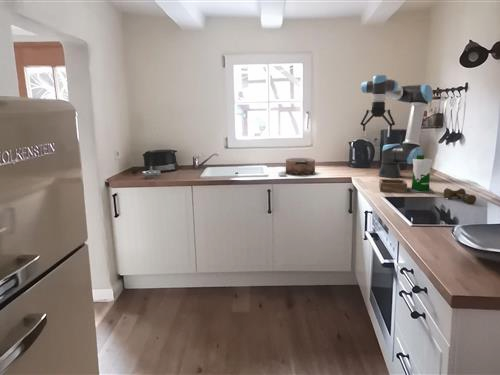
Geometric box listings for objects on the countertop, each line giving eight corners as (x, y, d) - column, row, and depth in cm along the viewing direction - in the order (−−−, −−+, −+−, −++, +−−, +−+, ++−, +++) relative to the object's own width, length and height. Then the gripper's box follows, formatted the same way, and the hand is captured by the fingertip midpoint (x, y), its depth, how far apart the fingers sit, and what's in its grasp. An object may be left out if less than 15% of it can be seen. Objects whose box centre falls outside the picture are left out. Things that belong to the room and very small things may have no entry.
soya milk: (421, 187, 231) (423, 154, 228) (432, 190, 223) (435, 156, 219) (408, 188, 229) (411, 155, 225) (419, 191, 220) (422, 157, 217)
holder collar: (379, 186, 239) (379, 178, 238) (403, 187, 235) (404, 179, 234) (380, 191, 225) (380, 183, 224) (406, 192, 221) (407, 184, 220)
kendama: (462, 205, 192) (438, 196, 211) (480, 205, 193) (454, 196, 212) (464, 194, 191) (439, 185, 210) (482, 194, 192) (456, 185, 211)
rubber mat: (407, 188, 234) (407, 187, 234) (430, 189, 230) (430, 188, 230) (409, 192, 222) (409, 191, 221) (434, 193, 218) (434, 192, 218)
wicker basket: (317, 176, 281) (317, 161, 279) (286, 176, 282) (286, 161, 280) (312, 170, 311) (312, 157, 309) (284, 170, 312) (284, 157, 310)
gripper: (357, 101, 234) (355, 136, 238) (401, 101, 227) (398, 137, 231) (357, 102, 241) (355, 136, 245) (399, 101, 234) (397, 136, 239)
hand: (376, 136), depth 238 cm, fingers open, 13 cm apart
